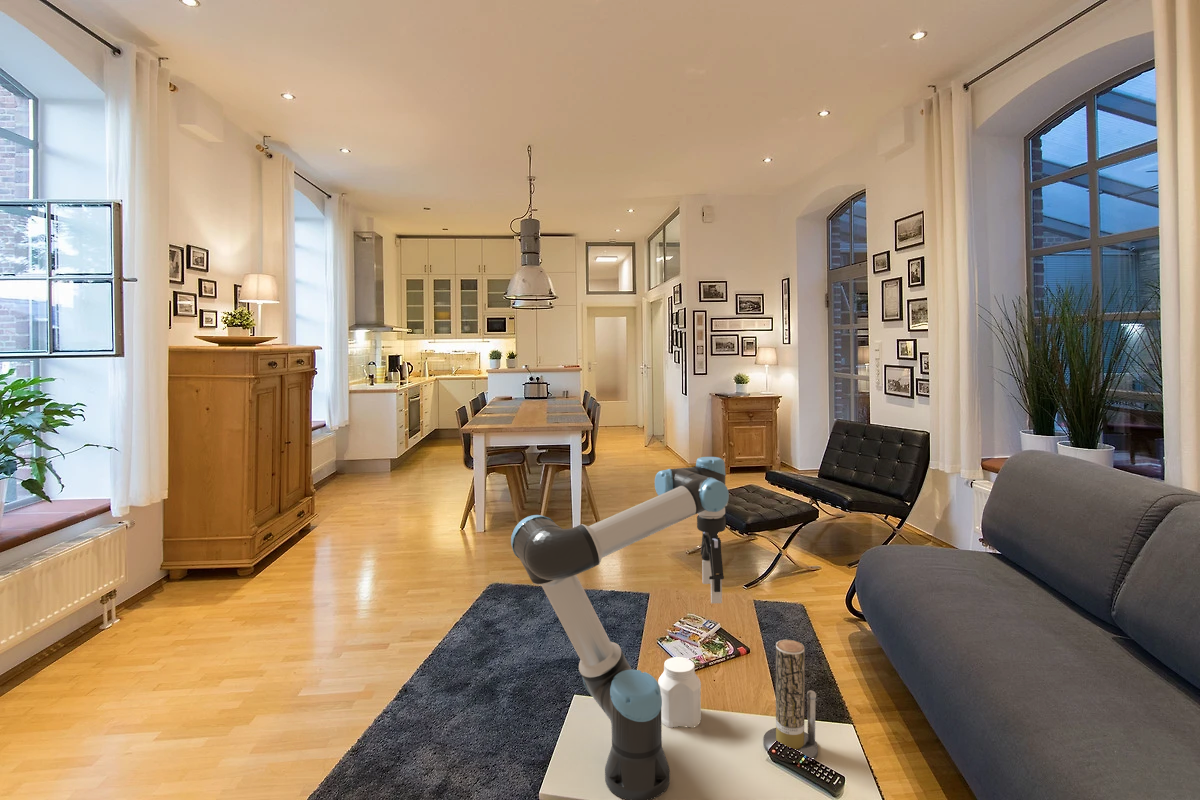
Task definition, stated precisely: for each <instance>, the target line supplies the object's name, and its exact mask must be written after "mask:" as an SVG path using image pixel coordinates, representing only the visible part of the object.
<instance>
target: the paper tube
mask: <svg viewBox="0 0 1200 800" xmlns="http://www.w3.org/2000/svg"><path fill="white" fill-rule="evenodd" d="M805 653H806V652H805V646H804V644H803V643H801V642H800V641H797V640H793V639H780V640H778V641H777V642H775V728H776V740H777V741H778V742H780V743H782V744H784V745H786V746H787V747H791V748H793V749H800V748H801V747H802V746H803V745H804V732H805V667H806V666H805Z"/></svg>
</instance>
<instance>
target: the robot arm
mask: <svg viewBox="0 0 1200 800" xmlns="http://www.w3.org/2000/svg"><path fill="white" fill-rule="evenodd" d="M726 476H727V474H726V464H725V461H724V459H723V458H721V457H718V456H701V457H698V458H697V459H696V462H695V466H691V467H690V466H689V467H680V468H679V467H678V468H668V469H664V470H663V469H662V470H659V471H658V472H657V473H656V474H655V477H654V489H655V491H656V494H657V495H656V496H655V497H652V498H650V499H648V500H645V501H644V502H641V503H639V504H636V505H634V506H632V507H629V508H627V509H625V510H622V511H620V512H617V513H615V514H614V515H613V514H612V515H611V516H609V517H607V518H604V519H602V520H600V521H597V522H595V523H593V524H591V525H586V524H583V523H581V524H579V525H577V526H574V527H570V528H562V527H561V526H560V525H558V524H557V523H555V522H554V520H553V519H551V518H550V517H547V516H545V515H540V514H533V515H528V516H526V517H525V518H523V519H521V520H520V521H519V522H518V523H517V525H516V526H515V527H514V529H513V531H512V534H511V537H510V545H511V548H512V551H513V553H514V555H515V557H517V558H518V559H519V560H520V562H521V563H522V566H523V568H524V570H525V572H526V573H527V575H528V577H529V578H530V580H531V582H532V584H533V585H535V586H541V587H542V589H543V591H544V594H545V596H546V597H547V599H548V600H549V603H550V604H551V606H552V608H553V610H554V612H555V614H556V616H557V618H558V620H559V622H560V623H561V625H562V627H563V629H564V631H565V634H566V635H567V637H568V639H569V641H570V643H571V645H572V646H573V648H574V650H575V652H576V654H577V656H578V658H579V663H578V671H579V673H580V675H581V677H582V682H583V685H584V687H585V689H586V691H587V692H588V694H589V695H590V696H591V697H592V698H593V699H594V700H595V702H596V704H597V705H599V707H600V708H601V710H602V711H603V712H604V713H605V715H606V716H607V718H608V719H609V721H610V723H611V747H610V750H609V754H608V757H607V759H606V763H605V767H604V782H605V784H606V786H607V788H608V790H609V791H610V792H611V793H613V795H615V796H617V797H618V798H621V799H624V800H653V799H656V798H657V797H659V796H662V794H663V793H665V792H666V791H667V789H668V788H669V785H670V779H671V778H670V777H671V776H670V775H671V774H670V772H671V771H670V766H669V763H668V760H667V757H666V754H665V752H664V748H663V746H662V745H663V741H662V738H663V737H662V734H663V733H662V730H663V728H662V726H663V724H662V722H661V707H662V697H661V691H660V686H659V684H658V680H657V679H656V678H655V677H654V676H653V675H651V674H650V673H648V672H646V671H643V672H642V670H640V669H633V668H632V667H631V665H630V663H629V661H628V659H627V658H626V656H625V654H624V652H623V650H622V648H621V646H620V645H619V644H618V643H616V642H613V641H611V639H610V638H609V636H608V635H607V632H606V630H605V628H604V626H603V624H602V622H601V620H600V618H599V616H598V614H597V612H596V611H595V608H594V607H593V605H592V602H591V600H590V599H589V597H588V595H587V593H586V590H585V589H584V587H583V585H582V583H581V581H580V579H579V577H578V575H580V574H582V573H584V572H586V571H589V570H590V569H591V570H592V568H595V567H597V566H600V564H601V561H602V559H603V558H605V557H607V556H609V555H611V554H613V553H615V552H618V551H620V550H622V549H624V548H626V547H629V546H631V545H632V544H635V543H636V542H640V541H642V540H643V539H645V538H648V537H650V536H651V535H654V534H656V533H658V532H661V531H662V530H665V529H666V528H669V527H671V526H673V525H675V524H678V523H680V522H682V521H684V520H686V519H688V518H690V517H693V516H695V515H697V516H696V528H697V530H698V531H699V532H702V534H701V536H702V537H701V547H700V555H701V559H702V560H701V562H702V563H701V565H702V566H701V568H702V570H701V572H702V574H701V575H702V578H701V579H702V584H703V585H710V603H711V604H723V580H724V578H725V576H724V566H723V557H722V540H721V539H720V537H719V535H718V534H719V533H722V532H725V530H726V527H727V526H726V525H727V523H726V520H727V519H726V516H725V514H726V507H727V506H728V503H729V499H730V497H729V496H730V495H729V493H730V492H729V490H728V486H727V485H726Z"/></svg>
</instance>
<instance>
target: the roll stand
mask: <svg viewBox="0 0 1200 800" xmlns="http://www.w3.org/2000/svg"><path fill="white" fill-rule="evenodd" d="M806 697H807V731H806V732H805V731H804V745H803V746H802V747H801V748H800V749H796V750H798V751H800V752H802V753H803V754H804V755H806V756H808V757H810V758H814V760H815V759H816V758H817V756H818V753H819V752H818V751H819V749H818V747H819V746H818V743H817V741H816V698H817V693H816V692H815V691H814V690H811V689H810V690H808V691H807V693H806ZM775 741H777V740H776V727H773V728H770V729H769V730H767V731H766V732H765V733H764V735H763V739H762V743H763V748H764V750H765V751H766V752H767V753H768V751H769V748H770V747H771V746H772V744H773V743H774V742H775Z"/></svg>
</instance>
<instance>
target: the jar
mask: <svg viewBox="0 0 1200 800" xmlns="http://www.w3.org/2000/svg"><path fill="white" fill-rule="evenodd" d="M695 668H696V667H695V663H694V661H693V660H691V659H689V658H687V657H686V658H685V657H682V656H675V657H673V656H672V657H668V658H667V659H666V660H665V661H664V664H663V672H662V673H661V675H660V676H659V678H658V680H657V682H658V684H659V686H660V691H661V697H662V707H661V724H662V725H664V726H666V727H667V728H672V729H673V727H674V728H679V727H678V726H687V727H686V728H688V727H694V726H696V725H697V724H698V723H699V722H700V723H701V721H702V708H701V707H702V705H701V692H702V691H701V688H702V682H701V679H700V677H699V676H698V674H696V671H695ZM700 720H701V721H700ZM700 723H699V724H700ZM699 724H698V725H699ZM698 725H697V726H698ZM697 726H696V727H697ZM694 728H695V727H694Z"/></svg>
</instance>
